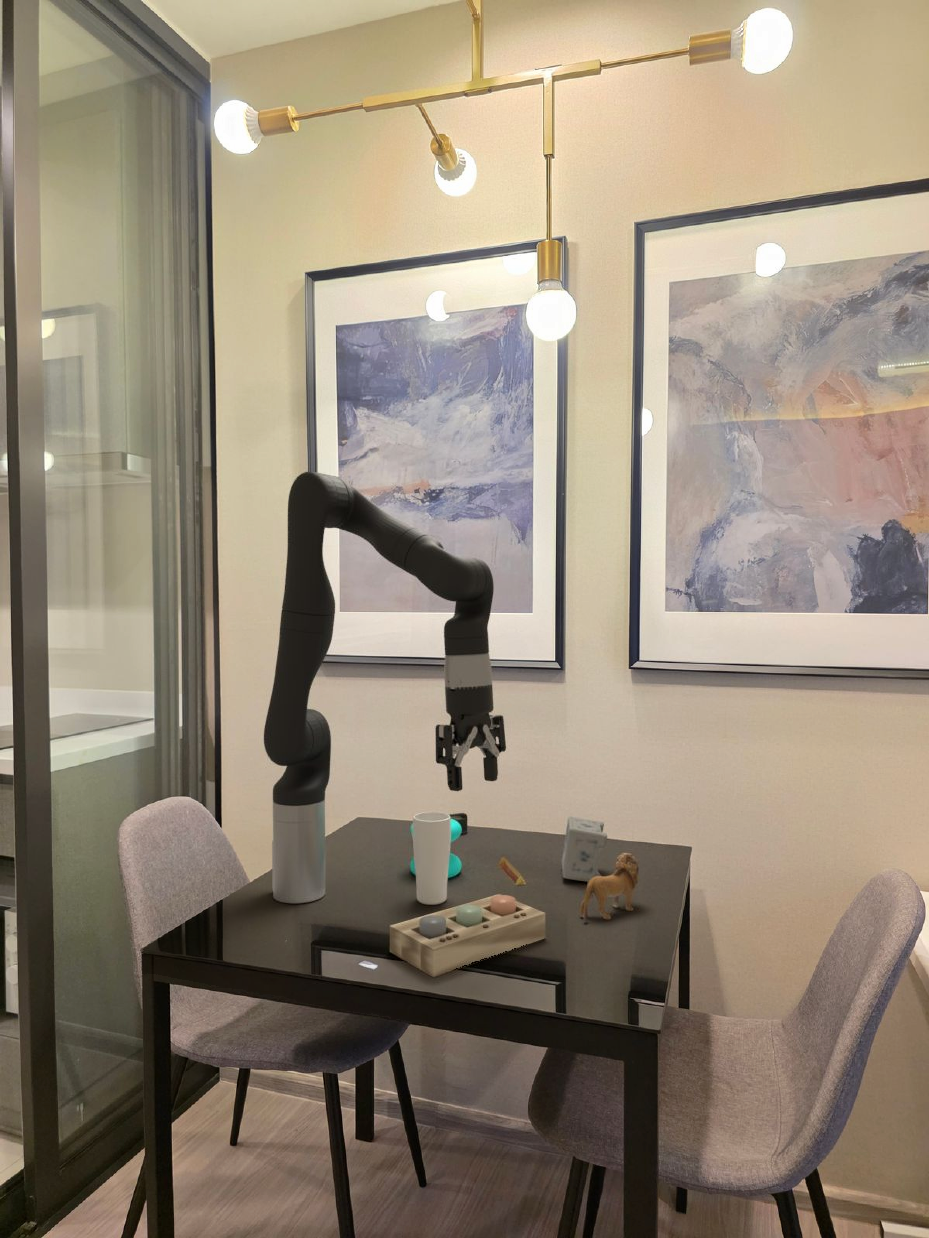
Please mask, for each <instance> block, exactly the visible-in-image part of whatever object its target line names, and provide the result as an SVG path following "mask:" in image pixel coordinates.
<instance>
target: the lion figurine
mask: <svg viewBox="0 0 929 1238" xmlns="http://www.w3.org/2000/svg"><path fill="white" fill-rule="evenodd" d="M614 868H615V869H614V872H613V873H612V874H611V875H610V874H609V875H606V876H604V875H603V876H602V875H601V876H596V877H593V878H592V879H590V880H589V881H588V882H587V886H586V890H585V895H584V898H583V900H582V902H581V904H580V909H579V910H580V911H579V916H580V918H583V919H582V921H584V922H586V921H588V917H589V914H588V905H589V904H590V902H591V901H592V900H593V899H594V897H595V898H596V900H597V902H598V911H597V912H599V914H600V916H601V917H602V918H603V919H604V920H611V919H612V917H611V915H610V914H608V913H606V910H605V908H606V904H607V901H608V898H612V905H611V906H612V907H613V908H614V909H617V908H619V907H620V902H619V896H621V895H622V894H624V896H625V903H624V907H625V910H626V911H630V912H632V911H634V908H633V907H632V906H631V904H632V898H633V892H632V891H633V890H634V889H635V888H637V884H638V883H639V869H640V868H639V861H638V860H637V858H636V857H635V855H634V854H632V853H630V852H623V853H621V854H619V855H618V856H617V857H616V862H615V867H614Z"/></svg>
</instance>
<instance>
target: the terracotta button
mask: <svg viewBox="0 0 929 1238" xmlns="http://www.w3.org/2000/svg"><path fill="white" fill-rule="evenodd" d="M493 896H494V895H493ZM516 901H517V899H516V898H515V897H514V896H512V895H507V894H506V895H505V894H500V895H498V896H494V897H492V898H491V912H492V913H494V914H497V915H499V916H501V917H503V916H506V915H509V914H512V913H516Z"/></svg>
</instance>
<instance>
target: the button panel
mask: <svg viewBox="0 0 929 1238" xmlns="http://www.w3.org/2000/svg"><path fill="white" fill-rule="evenodd" d="M498 895H501V893H498V894H494V895H492V896H488V897H485V898H481V899H478V900H473V901H471V902H467V903H464V904H460V905H457V906H453V907H450V908H447V909H443V910H439V911H436V912H433V913H428V914H425V915H422V916H419V917H415V918H412V919H408V920H405V921H401V922H398V923H395V924H390V925H389V953H391V954H393V955H395V956H396V957H398V958H400V959H401V960H403V961H404V962H406V961H407V963H408V964H409V965H412V966H413V967H415V968H417V969H418V968H419V970H420V971H421V972H424V973H425V972H426V973H425V974H427V975H429V976H431V977H432V978H435V977H438V976H441V975H444V974H447V973H449V972H453V971H455V970H454V969H456V968H458V969H461V968H463V967H462V966H464V965H467V966H470V965H472V964H471V963H472V962H475V961H479V962H481V961H482V960H481V959H484V958H487V959H490V958H492V957H491V956H493V957H495V956H494V955H496V956H498V954H499V955H501V954H504V953H506V952H505V951H507V952H509V951H512V949H513V950H515V949H514V948H516V949H518V948H522V947H524V946H527V945H529V944H530V945H531V944H533V943H535V942H538V941H542V940H545V939H546V912H543V911H541V910H539V909H537V908H534V907H532V906H529V905H527V904H524V903H523V902H519V901H518V900H516V913H512V914H509V915H506V916H503V917H501V916H499V915H497V914H494V913H492V912H491V898H492V897H494V896H498ZM463 905H475V906H479V907H481V908H482V923H480V924H477V925H474V926H471V927H468V928H466V927H464V926H462V925H460V924H458V923H456V909H457V908H458V907H459V906H463ZM430 915H436V916H442V917H444V918H445V919H446V934H445V935H442V936H439V937H436V938H433V939H428V938H426V937H424V936H422V935H420V934H419V920H420V919H421V918H422V917H425V916H430ZM526 944H527V945H526ZM523 945H524V946H523ZM521 946H522V947H521ZM503 952H504V953H503ZM500 953H501V954H500ZM489 957H490V958H489ZM480 960H481V961H480ZM484 960H485V959H484ZM469 964H470V965H469ZM460 967H461V968H460ZM464 967H465V966H464ZM452 970H453V971H452ZM456 970H457V969H456ZM446 972H447V973H446Z"/></svg>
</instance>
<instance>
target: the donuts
mask: <svg viewBox="0 0 929 1238" xmlns="http://www.w3.org/2000/svg"><path fill="white" fill-rule="evenodd" d="M409 831H410V836H412V838H413V823H412V824H411V825H410V828H409ZM461 832H462V828H461V825H460V824H459V823H458V822H457V821H455V820H453V819H451V843H452V842H455V841H456V840H458V838H459V837H460V836H461V835H460V834H461ZM410 861H411V862H410V865H409V868H410V870H411V873H412V874H414V876H416V874H415V862H414V857H413V858H412V860H410ZM462 866H463V865H462V861H461V860H460V858H459V856H457V855H456V854H454V853H452V852H450V856H449V867H448V879H451V878H453V877H455V876H457V875H458V874H459V873H460V872H461V870H462Z"/></svg>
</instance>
